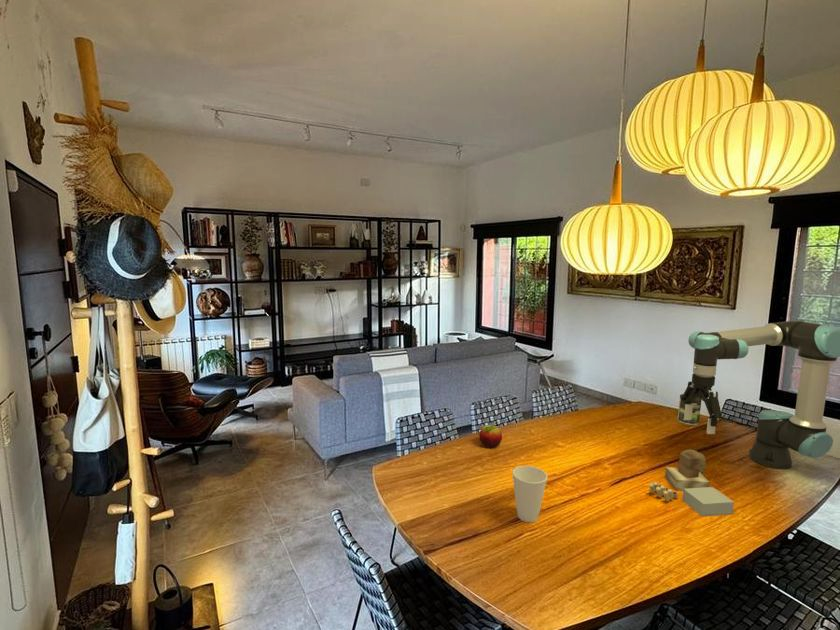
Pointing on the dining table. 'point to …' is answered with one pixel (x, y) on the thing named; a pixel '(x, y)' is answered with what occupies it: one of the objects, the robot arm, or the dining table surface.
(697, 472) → the walnut block
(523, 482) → the cup
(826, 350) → the robot arm
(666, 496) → the ammunition
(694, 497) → the grey painted block
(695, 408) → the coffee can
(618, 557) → the dining table surface
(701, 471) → the coral
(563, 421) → the dining table surface
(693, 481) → the pale oak block
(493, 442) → the fruit
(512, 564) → the dining table surface
